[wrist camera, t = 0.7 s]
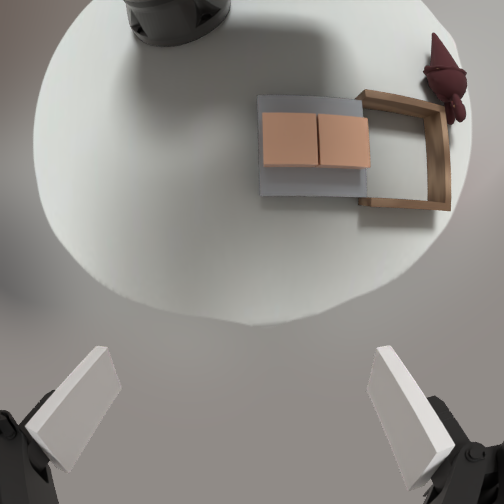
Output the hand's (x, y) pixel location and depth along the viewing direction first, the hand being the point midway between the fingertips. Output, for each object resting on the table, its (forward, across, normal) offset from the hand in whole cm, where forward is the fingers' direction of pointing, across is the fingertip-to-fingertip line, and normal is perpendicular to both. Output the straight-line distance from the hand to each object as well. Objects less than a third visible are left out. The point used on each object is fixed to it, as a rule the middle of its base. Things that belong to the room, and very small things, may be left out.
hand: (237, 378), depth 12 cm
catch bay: (+24, +20, +13) cm, 34 cm away
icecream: (+25, +28, +26) cm, 46 cm away
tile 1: (+21, +4, +13) cm, 25 cm away
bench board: (+24, +7, +13) cm, 28 cm away
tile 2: (+21, +10, +13) cm, 27 cm away
